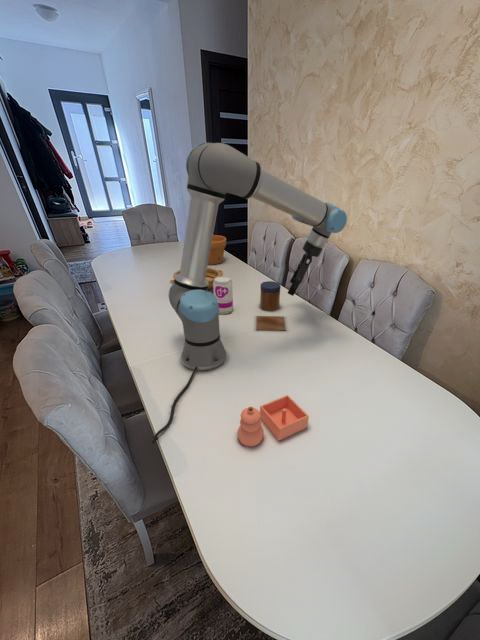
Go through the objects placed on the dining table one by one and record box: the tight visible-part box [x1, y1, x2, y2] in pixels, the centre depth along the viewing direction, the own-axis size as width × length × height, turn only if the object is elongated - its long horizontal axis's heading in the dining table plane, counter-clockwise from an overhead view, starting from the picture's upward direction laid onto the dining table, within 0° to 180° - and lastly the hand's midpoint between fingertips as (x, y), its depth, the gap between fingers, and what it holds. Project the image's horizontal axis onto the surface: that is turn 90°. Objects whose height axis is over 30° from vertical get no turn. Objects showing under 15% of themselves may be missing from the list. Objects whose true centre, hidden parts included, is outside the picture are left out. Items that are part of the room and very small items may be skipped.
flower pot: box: [207, 234, 227, 266], centre depth 198 cm, size 21×21×15 cm
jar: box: [259, 289, 281, 312], centre depth 142 cm, size 9×9×10 cm
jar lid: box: [260, 280, 281, 292], centre depth 139 cm, size 9×9×2 cm
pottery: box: [237, 394, 310, 448], centre depth 78 cm, size 18×10×10 cm, turn 121°
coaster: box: [256, 315, 287, 332], centre depth 130 cm, size 12×12×1 cm
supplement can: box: [212, 275, 234, 315], centre depth 136 cm, size 8×8×15 cm
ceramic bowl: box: [169, 266, 224, 291], centre depth 160 cm, size 30×24×8 cm
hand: (291, 288), depth 135 cm, fingers open, 13 cm apart
